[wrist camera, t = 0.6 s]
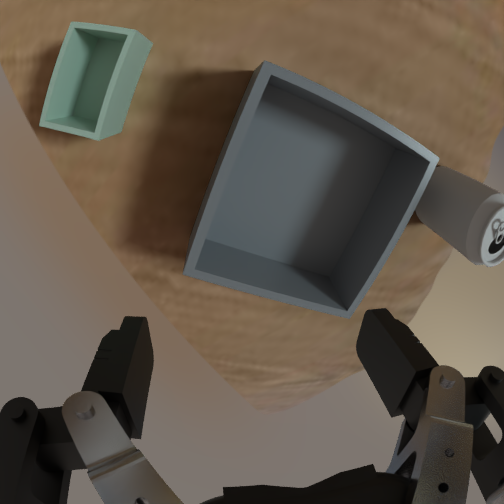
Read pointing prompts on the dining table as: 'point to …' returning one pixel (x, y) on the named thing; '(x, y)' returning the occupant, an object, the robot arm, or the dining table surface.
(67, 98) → the small crate
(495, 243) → the can
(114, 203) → the dining table surface
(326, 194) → the big crate
